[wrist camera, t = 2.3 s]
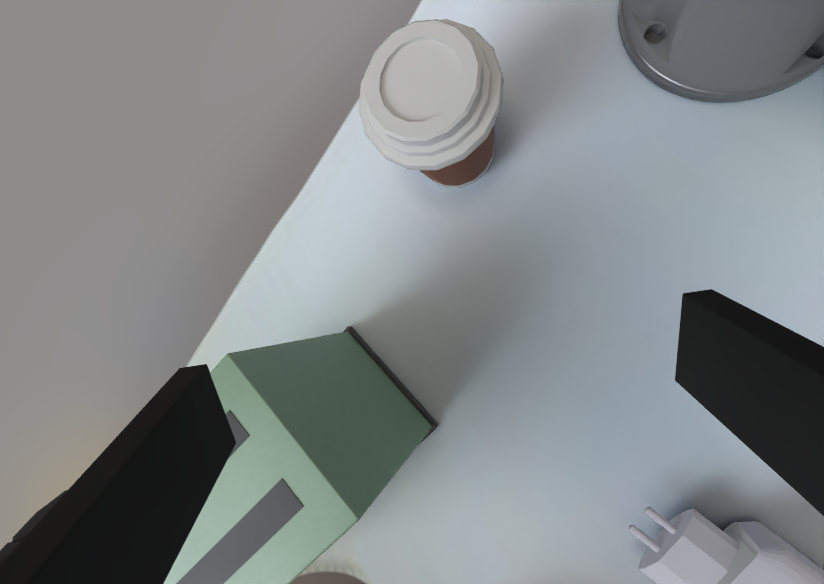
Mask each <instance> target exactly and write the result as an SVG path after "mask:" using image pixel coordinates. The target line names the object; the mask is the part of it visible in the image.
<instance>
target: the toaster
mask: <svg viewBox="0 0 824 584" xmlns="http://www.w3.org/2000/svg"><path fill="white" fill-rule="evenodd" d="M210 374H211V377H212V380H213V382H214V385H215V388H216V390H217V393H218V396H219V398H220V401H221V403H222V406H223V409H224V411H225V414H226V417H227V419H228V422H229V425H230V427H231V430H232V433H233V435H234V438H235V440H236V445H235V447H234V448H233V450H232V452H231V454H230V456H229V458H228V460H227V462H226V464H225V466H224V468H223V470H222V472H221V474H220V475H219V477H218V479H217V481H216V483H215V485H214V487H213V489H212V491H211V493H210V495H209V497H208V499H207V501H206V502H205V504H204V506H203V508H202V510H201V512H200V514H199V516H198V518H197V520H196V522H195V524H194V526H193V528H192V530H191V531H190V533H189V535H188V537H187V539H186V541H185V543H184V545H183V547H182V549H181V551H180V553H179V555H178V557H177V558H176V560H175V562H174V564H173V566H172V568H171V570H170V572H169V574H168V576H167V578H166V580H165V582H164V584H290V583H291V582H292V581H293V580H294V579H295V578H296V577H297V576H298V575H299V574H301V573H302V572H303V571H304V570H305V569H306V568H307V567H308V566H309V565H310V564H311V563H313V562H314V561H315V560H316V559H317V558H318V557H319V556H320V555H321V554H322V553H323V552H325V551H326V550H327V549H328V548H329V547H330V546H331V545H332V544H333V543H334V542H335V541H337V540H338V539H339V538H340V537H341V536H342V535H343V534H344V533H345V532H346V531H347V530H349V529H350V528H351V527H352V526H353V525H354V524H355V523H356V522H357V521H358V520H359V519H360V518H361V517H362V515H363V514H364V513H365V512H366V510H367V509H368V508H369V507H370V505H371V504H372V503H373V501H374V500H375V499H376V498H377V496H378V495H379V494H380V493H381V491H382V490H383V489H384V488H385V486H386V485H387V484H388V482H389V481H390V480H391V479H392V477H393V476H394V475H395V474H396V472H397V471H398V470H399V468H400V467H401V466H402V465H403V463H404V462H405V461H406V460H407V458H408V457H409V456H410V455H411V453H412V452H413V451H414V449H415V448H416V447H417V446H418V445H419V444H420V443H421V442H422V441H423V440H424V439H425V438H426V437H427V436H428V435H430V434H431V433H432V432H433V431H434V430H435V429H436V428H437V427H438V426H439V425H438V423H437V422H436V421H435V420H434V419H433V418H432V417H431V416H430V414H429V413H428V412H427V411H426V410H425V409H424V408H423V407H422V405H421V404H420V403H419V402H418V401H417V400H416V399H415V398H414V397H413V395H412V394H411V393H410V392H409V391H408V390H407V389H406V388H405V386H404V385H403V384H402V383H401V382H400V381H399V380H398V379H397V377H396V376H395V375H394V374H393V373H392V372H391V371H390V370H389V368H388V367H387V366H386V365H385V364H384V363H383V362H382V361H381V359H380V358H379V357H378V356H377V355H376V354H375V353H374V352H373V351H372V349H371V348H370V347H369V346H368V345H367V344H366V343H365V342H364V340H363V339H362V338H361V337H360V336H359V335H358V334H357V333H356V331H355V330H354V329H353V328H352V327H351V326H349V327H347V328H346V329H345V330H344V331H343V333H337V334H332V335H326V336H321V337H315V338H310V339H305V340H299V341H294V342H288V343H283V344H277V345H272V346H267V347H261V348H256V349H250V350H245V351H239V352H234V353H229V354H227V355H226V356H225V357H224V358H223V359H222V360H221V362H220V363H219V364H218V365H217V366H216V367H215V368H214V370H213V371H212V372H211V373H210Z"/></svg>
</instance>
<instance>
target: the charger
mask: <svg viewBox="0 0 824 584" xmlns="http://www.w3.org/2000/svg"><path fill="white" fill-rule="evenodd" d="M645 513H646V514H647V515H649V516H650V517H651V518H653V519H654V520H655V521H656V522H658V523H659V524H660V525H661V526H663V528H662V530H661V531H660V532H659V533H658V534H657V535H656V536H655V537H654V538H653V539H651V538H650V537H649V536H647V535H646V534H645V533H644V532H642V531H641V530H640V529H639V528H637V527H636V526H635V525H630V526H629V531H630V532H632V533H633V534H634V535H635V536H637V537H638V538H639V539H640V540H641V541H643V542H644V543H645V544H646V545H648V547H647V549H646V551H645V553H644V555H643V557H642V559H641V561H640V565H639V569H640V570H641V571H642V572H643V573H644V574H646V575H647V576H648V577H649V578H651V579H652V580H653V581H654V582H655V583H657V584H824V570H823V569H822V568H820V567H819V566H818V565H816V564H815V563H814V562H812V561H811V560H810V559H808V558H807V557H806V556H804V555H803V554H802V553H800V552H799V551H798V550H796V549H795V548H793V547H792V546H791V545H789V544H788V543H787V542H785V541H784V540H783V539H781V538H780V537H779V536H777V535H776V534H775V533H773V532H772V531H771V530H769V529H768V528H767V527H765V526H764V525H762V524H761V523H760V522H758V521H748V522H733V523H731V524H730V525H729V526H728V527H727V528H726V529H725V530H724V531H722V530H721V529H719V528H718V527H717V526H716V525H714V524H713V523H712V522H710V521H709V520H708V519H706V518H705V517H704V516H702V515H701V514H700V513H698V512H697V511H696V510H695V509H689V510H686V511H684V512H682V513H680V514H679V515H677V516H675V517H673V518H672V519H671V520H670V521H667V520H666V519H665V518H664V517H662V516H661V515H660V514H658V513H657V512H656V511H655V510H653V509H652V508H651V507H646V508H645Z"/></svg>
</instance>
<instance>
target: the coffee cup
mask: <svg viewBox="0 0 824 584" xmlns="http://www.w3.org/2000/svg"><path fill="white" fill-rule="evenodd" d="M502 91H503V75H502V72H501V69H500V66H499V63H498V60H497V57H496V55H495V52H494V49H493V47H492V46H491V45H490V44H489V43H488V42H487V41H486V40H485V39H484V38H483V37H482V36H481V35H480V34H479V33H478V32H477V31H476V30H475V29H474V28H471V27H468V26H465V25H462V24H459V23H457V22H454V21H451V20H448V19H445V20H437V19H436V20H426V21H415V22H412V23H410V24H408V25H406V26H404V27H403V28H401V29H399V30H397V31H395V32H393V33H392V34H391V35H390V36H389V37H388V38H387V39H386V40H385V41H384V42H383V43H382V44H381V45H380V46H379V47H378V48H377V50H376V51H375V53H374V55H373V57H372V59H371V62H370V64H369V66H368V68H367V70H366V73H365V75H364V77H363V80H362V82H361V91H360V102H359V113H360V117H361V120H362V123H363V127H364V130H365V133H366V137H367V138H368V139H369V140H370V141H371V142H372V144H373V145H374V146H375V147H376V148H377V150H378V151H379V152H380V153H381V154H382V155H383V157H385V158H386V159H387V160H389V161H391V162H394V163H396V164H398V165H400V166H402V167H404V168H407V169H409V170H419V171H420V172H422V173H423V174H425V175H426V176H427V177H429V178H430V179H432V181H433V182H436V183H438V184H440V185H442V186H444V187H459V188H461V187H463V186H466V185H468V184H471V183H474V182H475V181H477V180H478V179H479V178H480V177H481V176H482V175H483V174H484V173H485V172H487V170H488V168H489V166H490V164H491V162H492V160H493V158H494V148H495V140H494V123H495V121H496V119H497V117H498V115H499V113H500V111H501V102H502Z"/></svg>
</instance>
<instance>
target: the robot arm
mask: <svg viewBox="0 0 824 584" xmlns="http://www.w3.org/2000/svg"><path fill="white" fill-rule="evenodd" d="M618 19H619V28H620V33H621V37H622V40H623V43H624V46H625V48H626V50H627V52H628V54H629V56H630V58H631V59H632V61H633V62H634V64H635V65H636V66H637V67H638V69H639V70H640V71H641V72H642V73H643V74H644V75H645V76H646V77H647V78H649V79H650V80H651V81H652V82H654V83H655V84H657V85H658V86H660V87H662V88H663V89H665V90H667V91H669V92H671V93H674V94H677V95H679V96H682V97H686V98H689V99H693V100H699V101H706V102H736V101H744V100H750V99H755V98H759V97H762V96H766V95H769V94H772V93H775V92H778V91H780V90H782V89H785V88H787V87H789V86H791V85H793V84H795V83H797V82H799V81H801V80H802V79H804V78H806V77H807V76H809V75H810V74H812V73H813V72H815V71H816V70H817V69H819V68H820V67H821V66H823V65H824V0H619V9H618ZM675 381H676V382H677V383H679V384H680V385H681V386H682V387H683V388H684V389H685V390H686V391H687V392H688V393H690V394H691V395H692V396H693V397H694V398H695V399H696V400H697V401H698V402H699V403H700V404H702V405H703V406H704V407H705V408H706V409H707V410H708V411H709V412H710V413H711V414H713V415H714V416H715V417H716V418H717V419H718V420H719V421H720V422H721V423H722V424H723V425H725V426H726V427H727V428H728V429H729V430H730V431H731V432H732V433H733V434H734V435H736V436H737V437H738V438H739V439H740V440H741V441H742V442H743V443H744V444H745V445H746V446H748V447H749V448H750V449H751V450H752V451H753V452H754V453H755V454H756V455H757V456H759V457H760V458H761V459H762V460H763V461H764V462H765V463H766V464H767V465H768V466H769V467H771V468H772V469H773V470H774V471H775V472H776V473H777V474H778V475H779V476H780V477H782V478H783V479H784V480H785V481H786V482H787V483H788V484H789V485H790V486H791V487H793V488H794V489H795V490H796V491H797V492H798V493H799V494H800V495H801V496H802V497H803V498H805V499H806V500H807V501H808V502H809V503H810V504H811V505H812V506H813V507H814V508H816V509H817V510H818V511H819V512H820V513H821V514H822V515H823V516H824V347H823V346H821V345H819V344H817V343H815V342H813V341H811V340H809V339H807V338H805V337H803V336H801V335H799V334H797V333H795V332H794V331H792V330H790V329H788V328H786V327H784V326H782V325H780V324H778V323H776V322H774V321H772V320H770V319H768V318H766V317H764V316H762V315H760V314H759V313H757V312H755V311H753V310H751V309H749V308H747V307H745V306H743V305H741V304H739V303H737V302H735V301H733V300H731V299H729V298H727V297H726V296H724V295H722V294H720V293H718V292H716V291H714V290H712V289H710V290H704V291H697V292H690V293H683V297H682V309H681V320H680V331H679V342H678V353H677V364H676V375H675ZM235 445H236V440H235V438H234V435H233V433H232V430H231V427H230V425H229V422H228V419H227V417H226V414H225V411H224V409H223V406H222V403H221V401H220V398H219V396H218V393H217V390H216V388H215V385H214V382H213V380H212V377H211V374H210V372H209V369H208V367H207V364H205V365H198V366H191V367H184V368H180V369H179V370H178V371H177V372H176V373H175V374H174V375H173V376H172V377H171V378H170V379H169V380H168V382H167V383H166V384H165V385H164V386H163V387H162V388H161V389H160V390H159V391H158V393H157V394H156V395H155V396H154V397H153V398H152V399H151V400H150V401H149V402H148V404H146V406H145V407H144V408H143V409H142V410H141V411H140V412H139V413H138V415H136V417H135V418H134V419H133V420H132V421H131V422H130V423H129V424H128V425H127V426H126V427H125V429H124V430H123V431H122V432H121V433H120V434H119V435H118V436H117V437H116V438H115V439H114V441H113V442H112V443H111V444H110V445H109V446H108V447H107V448H106V449H105V450H104V451H103V453H102V454H101V455H100V456H99V457H98V458H97V459H96V460H95V461H94V462H93V463H92V465H91V466H90V467H89V468H88V469H87V470H86V471H85V472H84V473H83V474H82V476H81V477H80V478H79V479H78V480H77V481H76V482H75V483H74V484H73V485H72V486H71V487H70V489H69V490H67V491H64V492H63V493H62V494H60V495H59V496H58V497H56V498H55V499H54V500H52V501H51V502H50V503H49V504H47V505H46V506H45V507H43V508H42V509H41V510H39V511H38V512H37V513H36V514H35V515H34V516H33V517H32V518H31V519H30V520H29V521H28V522H27V523H26V524H25V525H24V526H23V527H22V528H21V529H20V530H19V532H18V533H17V534H16V535H15V536H14V537H13V541H12V542H10V543H7V544H6V545H5V546H4V547H3V548H2V550H1V551H0V584H164V582H165V580H166V578H167V576H168V574H169V572H170V570H171V568H172V566H173V564H174V562H175V560H176V558H177V557H178V555H179V553H180V551H181V549H182V547H183V545H184V543H185V541H186V539H187V537H188V535H189V533H190V531H191V530H192V528H193V526H194V524H195V522H196V520H197V518H198V516H199V514H200V512H201V510H202V508H203V506H204V504H205V502H206V501H207V499H208V497H209V495H210V493H211V491H212V489H213V487H214V485H215V483H216V481H217V479H218V477H219V475H220V474H221V472H222V470H223V468H224V466H225V464H226V462H227V460H228V458H229V456H230V454H231V452H232V450H233V448H234V447H235Z"/></svg>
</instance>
